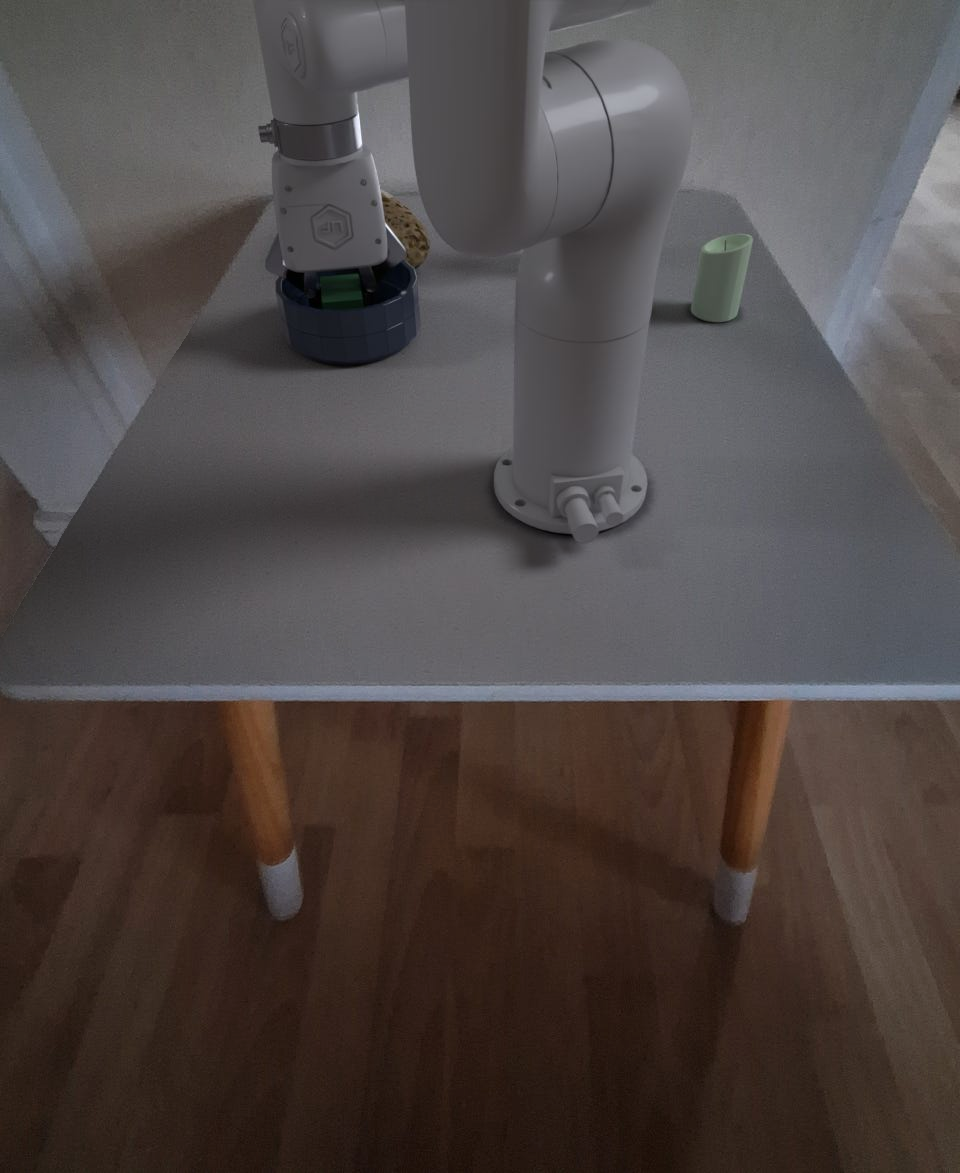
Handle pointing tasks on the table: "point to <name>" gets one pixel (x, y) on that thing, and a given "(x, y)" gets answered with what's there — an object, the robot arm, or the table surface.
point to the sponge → (406, 229)
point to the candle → (721, 277)
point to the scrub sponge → (341, 292)
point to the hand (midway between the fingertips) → (345, 324)
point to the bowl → (353, 320)
